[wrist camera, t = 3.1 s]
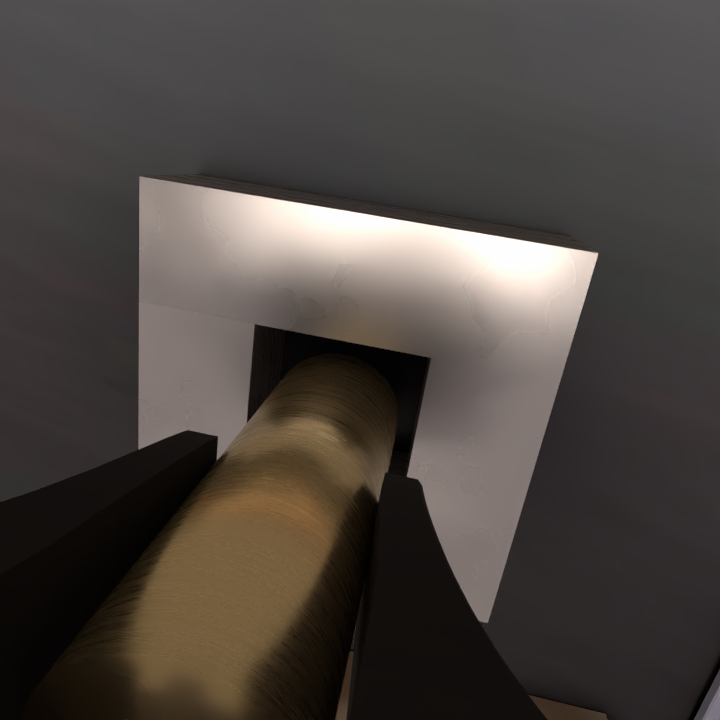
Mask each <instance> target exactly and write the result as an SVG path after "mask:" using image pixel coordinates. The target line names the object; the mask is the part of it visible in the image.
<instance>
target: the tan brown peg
mask: <svg viewBox="0 0 720 720" xmlns="http://www.w3.org/2000/svg"><path fill="white" fill-rule="evenodd" d="M398 421H399V409H398V403H397V400H396V396H395V394H394V392H393V390H392V387H391V386H390V384H389V383H388V381H387V380H386V379H385V378H384V376H383V375H382V374H381V373H380V372H379V371H378V370H377V369H375V368H374V367H373V366H371V365H370V364H368V363H367V362H365V361H363V360H361V359H359V358H356V357H354V356H350V355H346V354H340V353H324V354H318V355H314V356H311V357H309V358H306V359H304V360H302V361H301V362H299V363H297V364H296V365H295V366H294V367H292V368H291V369H290V371H289V372H288V373H287V374H286V375H285V376H284V378H283V379H282V380H281V381H280V383H279V384H278V385H277V386H276V388H275V389H274V390H273V391H272V393H271V394H270V395H269V396H268V398H267V399H266V400H265V401H264V403H263V404H262V405H261V406H260V408H259V409H258V410H257V411H256V413H255V414H254V415H253V416H252V418H251V419H250V420H249V421H248V423H247V424H246V425H245V426H244V428H243V429H242V430H241V431H240V433H239V434H238V435H237V436H236V438H235V439H234V440H233V441H232V442H231V444H230V445H229V446H228V447H227V449H226V450H225V451H224V452H223V454H222V455H221V456H220V457H219V459H218V460H217V461H216V462H215V464H214V465H213V466H212V467H211V469H210V470H209V471H208V472H207V474H206V475H205V476H204V477H203V479H202V480H201V481H200V482H199V484H198V485H197V486H196V487H195V489H194V490H193V491H192V492H191V494H190V495H189V496H188V497H187V499H186V500H185V501H184V502H183V504H182V505H181V506H180V507H179V509H178V510H177V511H176V512H175V514H174V515H173V516H172V517H171V519H170V520H169V521H168V522H167V524H166V525H165V526H164V527H163V529H162V530H161V531H160V532H159V534H158V535H157V536H156V537H155V539H154V540H153V541H152V542H151V544H150V545H149V546H148V547H147V549H146V550H145V551H144V552H143V554H142V555H141V556H140V557H139V559H138V560H137V561H136V562H135V564H134V565H133V566H132V567H131V569H130V570H129V571H128V572H127V574H126V575H125V576H124V577H123V579H122V580H121V581H120V582H119V584H118V585H117V586H116V587H115V589H114V590H113V591H112V592H111V594H110V595H109V596H108V597H107V599H106V600H105V601H104V602H103V604H102V605H101V606H100V607H99V609H98V610H97V611H96V612H95V614H94V615H93V616H92V617H91V619H90V620H89V621H88V622H87V624H86V625H85V626H84V627H83V629H82V630H81V631H80V632H79V634H78V635H77V636H76V637H75V639H74V640H73V641H72V642H71V644H70V645H69V646H68V647H67V649H66V650H65V651H64V652H63V653H62V655H61V656H60V657H59V658H58V660H57V661H56V662H55V663H54V665H53V666H52V667H51V668H50V670H49V671H48V672H47V673H46V675H45V676H44V677H43V678H42V680H41V681H40V682H39V683H38V685H37V686H36V687H35V689H34V690H33V692H32V693H31V695H30V696H29V698H28V699H27V702H26V704H25V707H24V710H23V714H22V719H21V720H335V719H336V714H337V709H338V704H339V700H340V695H341V690H342V686H343V681H344V676H345V672H346V667H347V662H348V658H349V653H350V648H351V643H352V639H353V634H354V629H355V625H356V620H357V615H358V611H359V606H360V601H361V597H362V592H363V587H364V582H365V578H366V573H367V568H368V562H369V555H370V548H371V540H372V534H373V529H374V524H375V518H376V513H377V508H378V502H379V497H380V492H381V487H382V483H383V479H384V475H385V472H386V473H388V470H389V465H390V460H391V456H392V451H393V446H394V442H395V437H396V432H397V428H398Z"/></svg>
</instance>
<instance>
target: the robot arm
mask: <svg viewBox="0 0 720 720" xmlns="http://www.w3.org/2000/svg"><path fill="white" fill-rule="evenodd" d="M217 446H218V436H214V435H209V434H204V433H200V432H195V431H190V430H186V431H183V432H180V433H178V434H175V435H172V436H170V437H167V438H165V439H162V440H160V441H158V442H155V443H153V444H151V445H148V446H146V447H144V448H141V449H139V450H137V451H134V452H132V453H130V454H127V455H125V456H122V457H120V458H118V459H115V460H113V461H111V462H108V463H106V464H103V465H101V466H99V467H96V468H94V469H91V470H89V471H86V472H83V473H81V474H78V475H75V476H73V477H70V478H68V479H65V480H62V481H60V482H57V483H54V484H52V485H49V486H46V487H44V488H41V489H38V490H36V491H33V492H30V493H27V494H24V495H21V496H18V497H15V498H12V499H9V500H6V501H2V502H0V720H21V719H22V714H23V710H24V707H25V704H26V702H27V699H28V698H29V696H30V695H31V693H32V692H33V690H34V689H35V687H36V686H37V685H38V683H39V682H40V681H41V680H42V678H43V677H44V676H45V675H46V673H47V672H48V671H49V670H50V668H51V667H52V666H53V665H54V663H55V662H56V661H57V660H58V658H59V657H60V656H61V655H62V653H63V652H64V651H65V650H66V649H67V647H68V646H69V645H70V644H71V642H72V641H73V640H74V639H75V637H76V636H77V635H78V634H79V632H80V631H81V630H82V629H83V627H84V626H85V625H86V624H87V622H88V621H89V620H90V619H91V617H92V616H93V615H94V614H95V612H96V611H97V610H98V609H99V607H100V606H101V605H102V604H103V602H104V601H105V600H106V599H107V597H108V596H109V595H110V594H111V592H112V591H113V590H114V589H115V587H116V586H117V585H118V584H119V582H120V581H121V580H122V579H123V577H124V576H125V575H126V574H127V572H128V571H129V570H130V569H131V567H132V566H133V565H134V564H135V562H136V561H137V560H138V559H139V557H140V556H141V555H142V554H143V552H144V551H145V550H146V549H147V547H148V546H149V545H150V544H151V542H152V541H153V540H154V539H155V537H156V536H157V535H158V534H159V532H160V531H161V530H162V529H163V527H164V526H165V525H166V524H167V522H168V521H169V520H170V519H171V517H172V516H173V515H174V514H175V512H176V511H177V510H178V509H179V507H180V506H181V505H182V504H183V502H184V501H185V500H186V499H187V497H188V496H189V495H190V494H191V492H192V491H193V490H194V489H195V487H196V486H197V485H198V484H199V482H200V481H201V480H202V479H203V477H204V476H205V475H206V474H207V472H208V471H209V470H210V469H211V467H212V466H213V465H214V464H215V462H216V461H217ZM346 720H547V718H546V717H545V716H544V714H543V713H542V712H541V710H540V709H539V708H538V706H537V705H536V704H535V703H534V701H533V700H532V699H531V697H530V696H529V695H528V693H527V692H526V691H525V689H524V688H523V687H522V686H521V684H520V683H519V682H518V680H517V679H516V678H515V676H514V675H513V673H512V672H511V670H510V669H509V667H508V666H507V665H506V663H505V662H504V660H503V659H502V657H501V656H500V654H499V653H498V651H497V650H496V648H495V647H494V645H493V643H492V642H491V640H490V639H489V637H488V635H487V634H486V632H485V630H484V629H483V627H482V626H481V624H480V622H479V620H478V619H477V617H476V615H475V614H474V612H473V610H472V608H471V606H470V604H469V603H468V601H467V599H466V597H465V595H464V593H463V591H462V589H461V587H460V585H459V583H458V581H457V579H456V577H455V575H454V573H453V571H452V569H451V567H450V565H449V562H448V560H447V558H446V555H445V553H444V551H443V548H442V546H441V543H440V541H439V539H438V536H437V534H436V531H435V528H434V526H433V523H432V520H431V517H430V514H429V511H428V507H427V504H426V500H425V496H424V492H423V486H422V485H421V483H420V482H419V480H418V479H414V478H409V477H405V476H400V475H395V474H391V473H386V472H385V475H384V479H383V483H382V487H381V492H380V497H379V502H378V508H377V513H376V518H375V524H374V529H373V534H372V540H371V548H370V555H369V562H368V568H367V573H366V578H365V582H364V587H363V592H362V597H361V601H360V606H359V611H358V616H357V625H356V634H355V643H354V652H353V662H352V671H351V680H350V690H349V699H348V708H347V718H346ZM694 720H720V670H719V672H718V674H717V676H716V678H715V679H714V681H713V683H712V685H711V687H710V689H709V691H708V693H707V695H706V697H705V699H704V701H703V703H702V705H701V707H700V709H699V710H698V712H697V714H696V716H695V718H694Z"/></svg>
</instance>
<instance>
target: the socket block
mask: <svg viewBox="0 0 720 720" xmlns="http://www.w3.org/2000/svg"><path fill="white" fill-rule="evenodd" d="M597 257H598V253H597V252H595V251H594V250H592V249H590V248H589V247H587V246H586V245H584V244H582V243H581V242H579V241H577V240H576V239H574V238H572V237H571V236H568V235H562V234H556V233H550V232H544V231H538V230H532V229H526V228H520V227H514V226H508V225H502V224H496V223H490V222H484V221H478V220H472V219H466V218H460V217H454V216H448V215H441V214H435V213H429V212H423V211H417V210H411V209H405V208H399V207H393V206H387V205H381V204H375V203H369V202H363V201H357V200H351V199H345V198H339V197H333V196H327V195H321V194H315V193H309V192H303V191H297V190H291V189H285V188H279V187H272V186H266V185H260V184H254V183H248V182H242V181H236V180H230V179H224V178H218V177H212V176H206V175H200V174H187V175H161V176H140V190H139V449H141V448H144V447H146V446H148V445H151V444H153V443H155V442H158V441H160V440H162V439H165V438H167V437H170V436H172V435H175V434H178V433H180V432H183V431H186V430H190V431H195V432H200V433H204V434H209V435H214V436H218V446H217V460H218V459H219V457H220V456H221V455H222V454H223V452H224V451H225V450H226V449H227V447H228V446H229V445H230V444H231V442H232V441H233V440H234V439H235V438H236V436H237V435H238V434H239V433H240V431H241V430H242V429H243V428H244V426H245V425H246V424H247V423H248V421H249V420H250V419H251V418H252V416H253V415H254V414H255V413H256V411H257V410H258V409H259V408H260V406H261V405H262V404H263V403H264V401H265V400H266V399H267V398H268V396H269V395H270V394H271V393H272V391H273V390H274V389H275V388H276V386H277V385H278V384H279V383H280V381H281V375H282V365H283V355H284V346H285V336H286V330H288V331H293V332H299V333H304V334H309V335H314V336H320V337H325V338H330V339H335V340H341V341H346V342H351V343H356V344H362V345H367V346H372V347H377V348H382V349H388V350H393V351H398V352H403V353H409V354H414V355H419V356H424V357H428V360H427V364H426V369H425V374H424V379H423V384H422V389H421V394H420V399H419V404H418V409H417V414H416V419H415V424H414V428H413V433H412V438H411V443H410V448H409V453H406V452H401V451H397V450H393V451H392V456H391V460H390V465H389V470H388V473H391V474H395V475H400V476H405V477H409V478H414V479H418V480H419V482H420V483H421V485H422V486H423V492H424V496H425V500H426V504H427V507H428V511H429V514H430V517H431V520H432V523H433V526H434V528H435V531H436V534H437V536H438V539H439V541H440V543H441V546H442V548H443V551H444V553H445V555H446V558H447V560H448V562H449V565H450V567H451V569H452V571H453V573H454V575H455V577H456V579H457V581H458V583H459V585H460V587H461V589H462V591H463V593H464V595H465V597H466V599H467V601H468V603H469V604H470V606H471V608H472V610H473V612H474V614H475V615H476V617H477V619H478V620H479V621H481V622H485V623H488V621H489V617H490V614H491V611H492V607H493V604H494V601H495V597H496V594H497V591H498V587H499V584H500V581H501V577H502V574H503V571H504V567H505V564H506V561H507V557H508V554H509V551H510V547H511V544H512V541H513V537H514V534H515V531H516V527H517V524H518V520H519V517H520V514H521V510H522V507H523V504H524V500H525V497H526V494H527V490H528V487H529V484H530V480H531V477H532V474H533V470H534V467H535V464H536V460H537V457H538V454H539V450H540V447H541V444H542V440H543V437H544V434H545V430H546V427H547V424H548V420H549V417H550V414H551V410H552V407H553V404H554V400H555V397H556V394H557V390H558V387H559V384H560V380H561V377H562V374H563V370H564V367H565V364H566V360H567V357H568V354H569V350H570V347H571V344H572V340H573V337H574V333H575V330H576V327H577V323H578V320H579V317H580V313H581V310H582V307H583V303H584V300H585V297H586V293H587V290H588V287H589V283H590V280H591V277H592V273H593V270H594V267H595V263H596V260H597Z"/></svg>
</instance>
